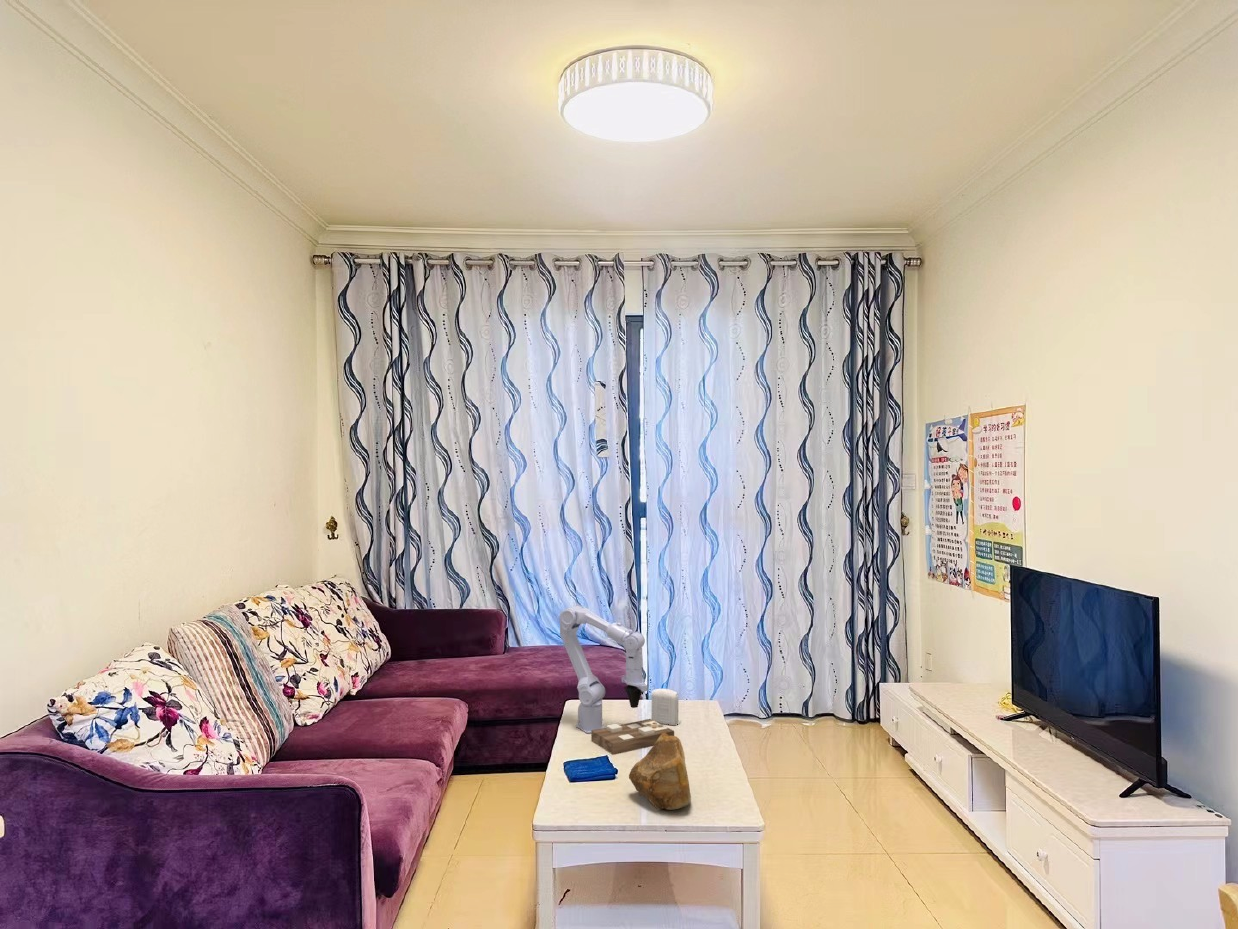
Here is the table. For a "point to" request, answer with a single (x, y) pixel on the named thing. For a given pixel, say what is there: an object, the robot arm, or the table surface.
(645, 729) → the button
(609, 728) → the button
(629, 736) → the button
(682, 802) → the rough brown rock
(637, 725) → the button
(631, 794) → the table surface
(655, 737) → the button board
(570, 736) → the table surface
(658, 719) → the photo printer
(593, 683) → the robot arm
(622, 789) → the table surface
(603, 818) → the table surface
